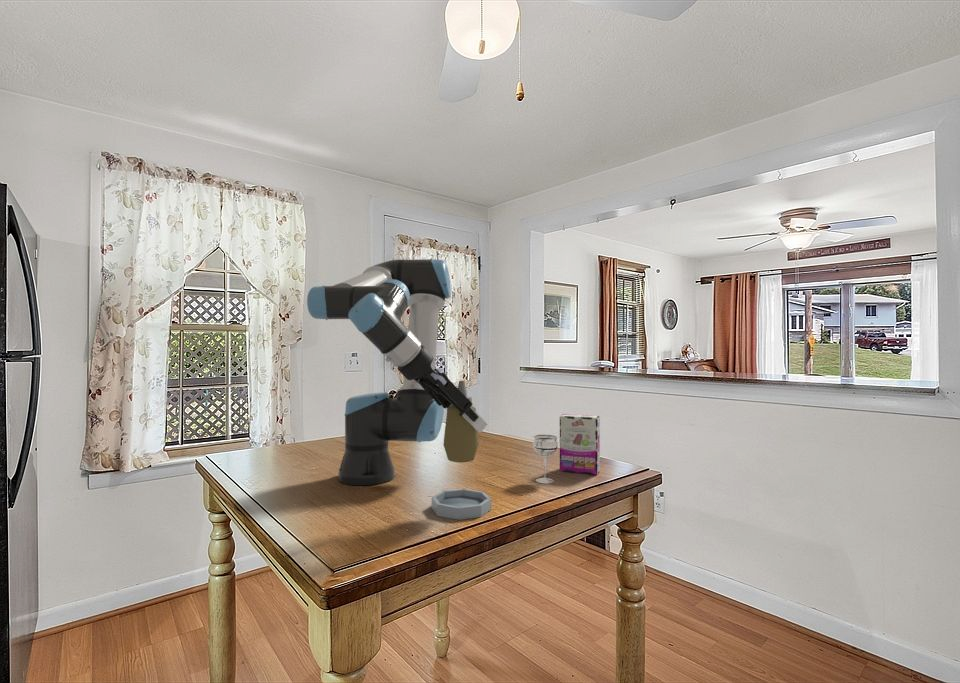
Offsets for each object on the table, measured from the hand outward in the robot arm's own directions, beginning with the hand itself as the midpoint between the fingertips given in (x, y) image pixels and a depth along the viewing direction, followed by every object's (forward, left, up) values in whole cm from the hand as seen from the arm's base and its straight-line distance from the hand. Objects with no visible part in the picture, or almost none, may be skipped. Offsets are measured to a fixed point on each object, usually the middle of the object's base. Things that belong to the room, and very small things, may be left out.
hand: (475, 426), depth 114 cm
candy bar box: (+14, +41, -19) cm, 48 cm away
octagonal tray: (-2, -3, -19) cm, 19 cm away
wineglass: (+8, +27, -19) cm, 34 cm away
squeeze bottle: (-2, -3, -8) cm, 8 cm away
